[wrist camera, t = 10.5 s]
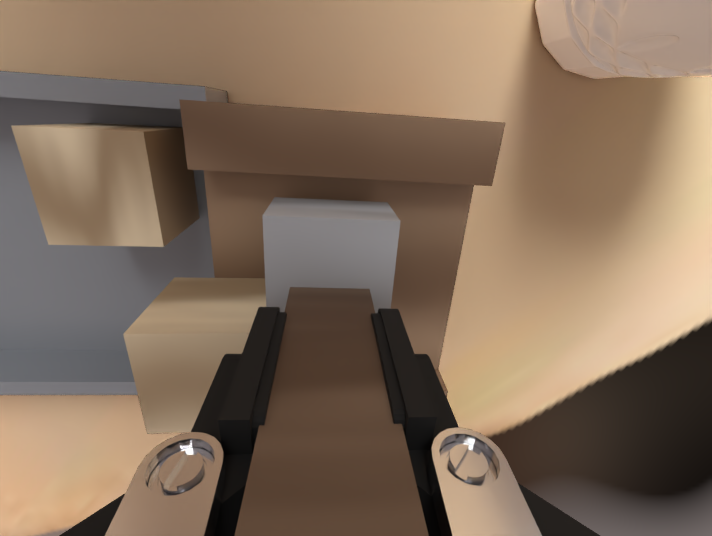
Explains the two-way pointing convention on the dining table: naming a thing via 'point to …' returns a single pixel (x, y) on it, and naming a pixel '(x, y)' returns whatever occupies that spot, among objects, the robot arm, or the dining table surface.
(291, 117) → the slot block
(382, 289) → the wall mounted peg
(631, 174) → the dining table surface
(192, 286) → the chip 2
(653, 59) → the white cup
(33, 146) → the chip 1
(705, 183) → the dining table surface
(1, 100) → the tray
